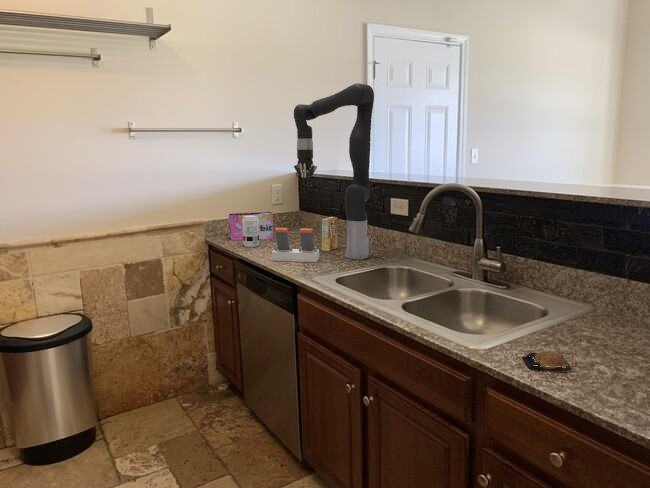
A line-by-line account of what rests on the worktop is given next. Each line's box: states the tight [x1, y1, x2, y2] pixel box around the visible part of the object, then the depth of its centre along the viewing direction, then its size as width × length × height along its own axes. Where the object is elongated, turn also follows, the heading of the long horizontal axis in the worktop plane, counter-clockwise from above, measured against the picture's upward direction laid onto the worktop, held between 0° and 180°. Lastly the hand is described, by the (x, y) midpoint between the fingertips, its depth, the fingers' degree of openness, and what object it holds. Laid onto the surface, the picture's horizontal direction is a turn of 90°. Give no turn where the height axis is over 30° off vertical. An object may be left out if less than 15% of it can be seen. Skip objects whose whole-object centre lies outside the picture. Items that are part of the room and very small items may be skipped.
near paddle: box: [299, 227, 315, 251], centre depth 217 cm, size 5×2×11 cm, turn 82°
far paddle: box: [274, 227, 290, 250], centre depth 219 cm, size 5×2×11 cm, turn 82°
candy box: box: [321, 216, 339, 252], centre depth 240 cm, size 9×4×15 cm, turn 150°
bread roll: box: [521, 351, 576, 373], centre depth 119 cm, size 11×8×4 cm
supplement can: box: [242, 215, 260, 248], centre depth 248 cm, size 8×8×15 cm
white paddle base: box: [271, 245, 320, 263], centre depth 221 cm, size 20×7×6 cm, turn 82°
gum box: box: [227, 211, 274, 241], centre depth 267 cm, size 24×8×14 cm, turn 106°
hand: (305, 185), depth 237 cm, fingers closed
